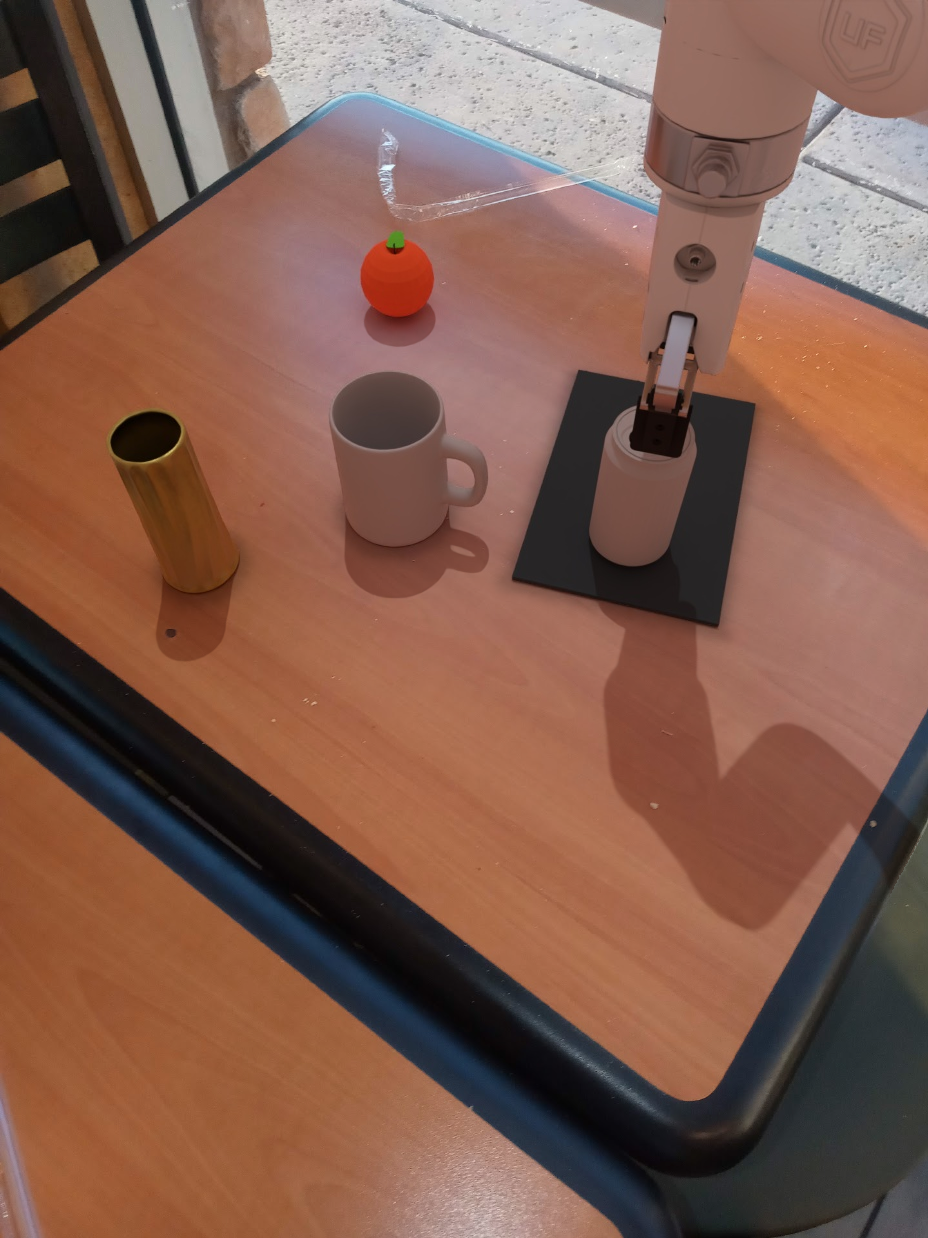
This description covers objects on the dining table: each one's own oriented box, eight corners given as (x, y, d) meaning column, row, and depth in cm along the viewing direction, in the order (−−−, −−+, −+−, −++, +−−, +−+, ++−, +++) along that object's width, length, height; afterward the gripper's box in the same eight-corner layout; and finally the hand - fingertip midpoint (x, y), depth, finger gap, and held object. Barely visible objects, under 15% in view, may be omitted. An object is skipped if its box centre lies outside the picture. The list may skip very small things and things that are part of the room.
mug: (329, 533, 73) (308, 437, 64) (368, 457, 78) (353, 358, 68) (470, 570, 71) (469, 477, 62) (502, 491, 76) (506, 392, 66)
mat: (717, 627, 68) (719, 624, 68) (511, 579, 71) (511, 576, 70) (754, 406, 81) (755, 403, 80) (578, 372, 83) (578, 369, 83)
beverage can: (571, 536, 72) (587, 429, 62) (626, 495, 75) (650, 385, 65) (630, 586, 70) (657, 482, 60) (685, 541, 72) (720, 434, 62)
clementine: (368, 277, 91) (361, 212, 85) (438, 279, 90) (435, 213, 84) (360, 331, 86) (352, 267, 80) (433, 333, 86) (430, 268, 80)
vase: (150, 589, 71) (84, 464, 59) (176, 527, 74) (118, 397, 62) (226, 599, 70) (174, 475, 58) (248, 536, 73) (204, 406, 61)
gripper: (784, 252, 40) (707, 508, 54) (815, 59, 49) (742, 322, 63) (614, 227, 41) (583, 483, 55) (675, 44, 50) (634, 305, 64)
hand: (668, 397), depth 59 cm, fingers open, 9 cm apart
